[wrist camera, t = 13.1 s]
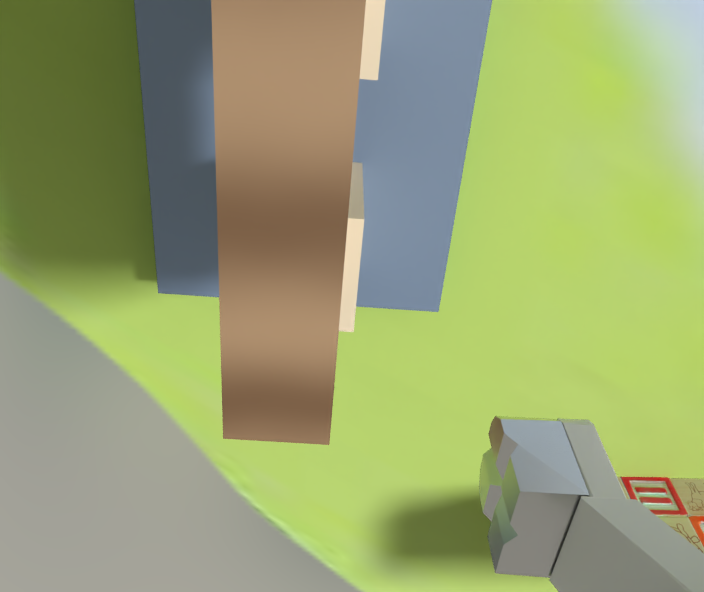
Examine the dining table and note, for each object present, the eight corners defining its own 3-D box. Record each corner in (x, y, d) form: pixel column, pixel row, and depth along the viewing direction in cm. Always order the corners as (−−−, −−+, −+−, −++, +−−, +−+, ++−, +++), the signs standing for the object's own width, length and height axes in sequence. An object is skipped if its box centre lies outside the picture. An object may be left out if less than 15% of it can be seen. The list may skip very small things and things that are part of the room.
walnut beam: (246, -130, 19) (207, -138, 14) (369, -119, 19) (376, -123, 14) (247, 335, 27) (223, 438, 22) (333, 341, 27) (329, 444, 22)
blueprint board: (129, -203, 24) (48, -238, 18) (512, -166, 25) (569, -187, 18) (165, 278, 34) (122, 366, 28) (435, 296, 35) (453, 387, 29)
